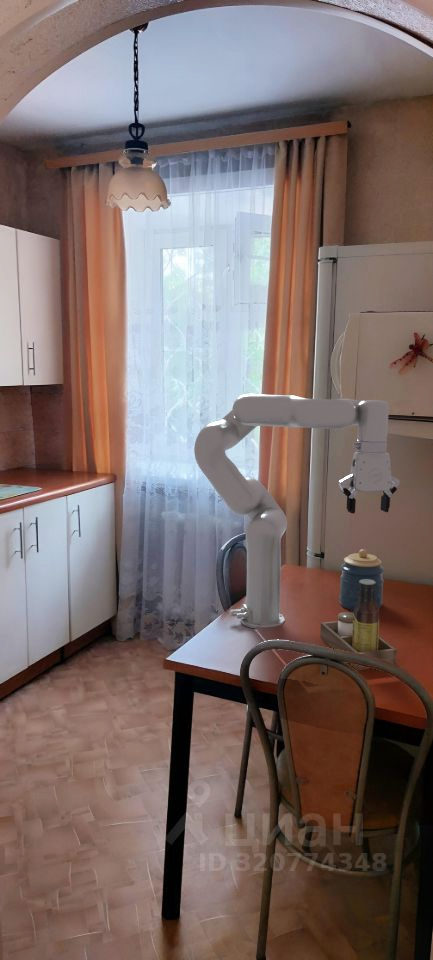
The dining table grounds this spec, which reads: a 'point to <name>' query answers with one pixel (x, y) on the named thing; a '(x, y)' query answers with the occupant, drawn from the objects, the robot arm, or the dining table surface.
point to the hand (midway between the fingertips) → (367, 511)
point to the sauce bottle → (366, 618)
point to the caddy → (345, 643)
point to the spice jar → (345, 624)
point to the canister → (360, 577)
